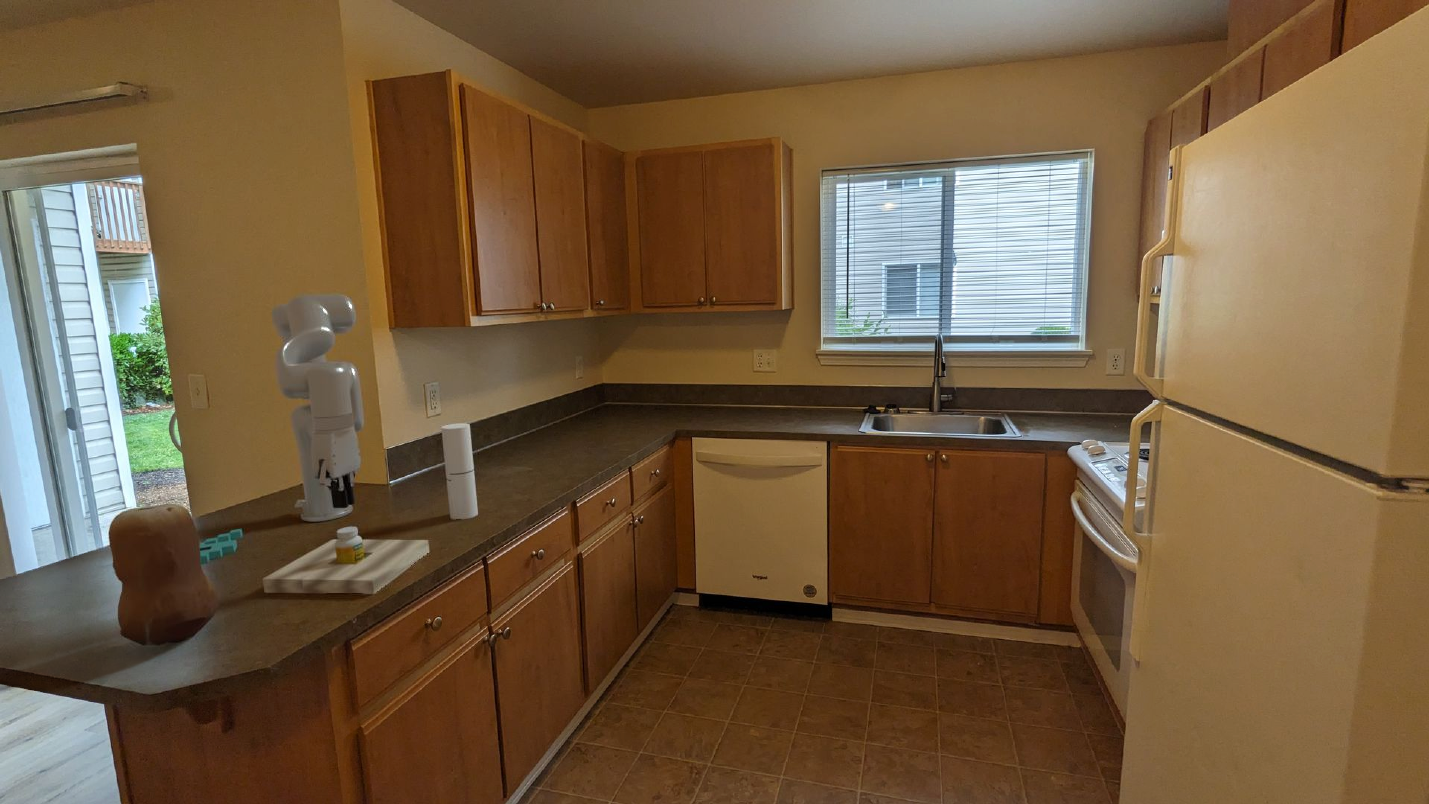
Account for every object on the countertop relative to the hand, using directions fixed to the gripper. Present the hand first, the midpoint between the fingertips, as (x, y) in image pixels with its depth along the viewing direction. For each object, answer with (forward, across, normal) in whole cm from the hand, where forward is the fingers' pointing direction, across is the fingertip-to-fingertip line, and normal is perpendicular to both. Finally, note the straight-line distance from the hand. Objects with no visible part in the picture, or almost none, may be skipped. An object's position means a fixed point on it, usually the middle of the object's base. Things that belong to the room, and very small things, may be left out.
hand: (344, 505), depth 145 cm
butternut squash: (+15, +30, -14) cm, 36 cm away
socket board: (+15, 0, 0) cm, 15 cm away
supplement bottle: (+15, 0, 0) cm, 15 cm away
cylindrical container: (+15, -37, +8) cm, 41 cm away
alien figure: (+16, -7, -47) cm, 50 cm away
